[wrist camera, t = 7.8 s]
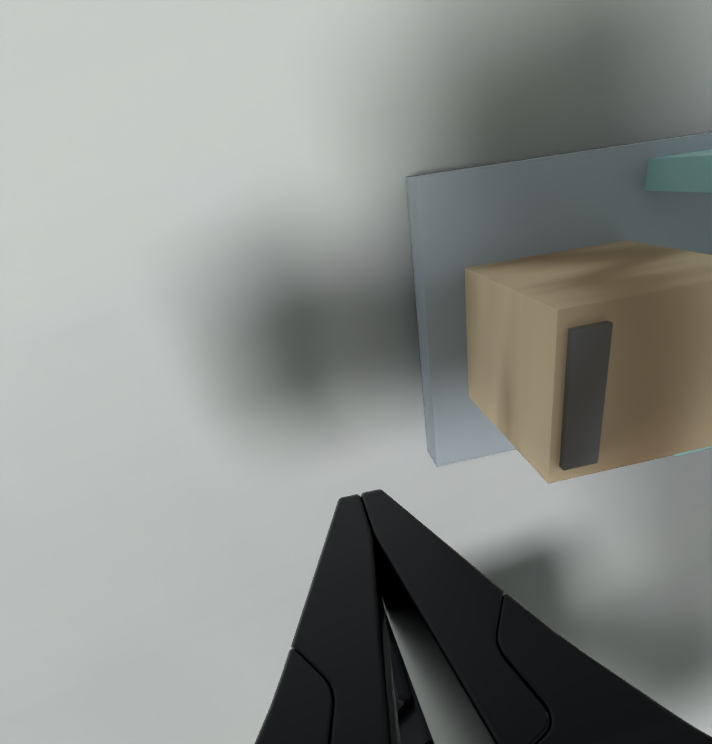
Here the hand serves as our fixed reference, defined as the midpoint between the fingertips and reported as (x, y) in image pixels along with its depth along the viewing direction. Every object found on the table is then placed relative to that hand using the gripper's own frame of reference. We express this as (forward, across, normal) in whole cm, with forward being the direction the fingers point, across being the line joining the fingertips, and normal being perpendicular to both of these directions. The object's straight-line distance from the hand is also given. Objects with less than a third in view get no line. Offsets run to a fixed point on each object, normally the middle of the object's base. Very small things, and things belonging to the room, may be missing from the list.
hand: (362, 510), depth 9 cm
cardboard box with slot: (+8, -8, 0) cm, 11 cm away
